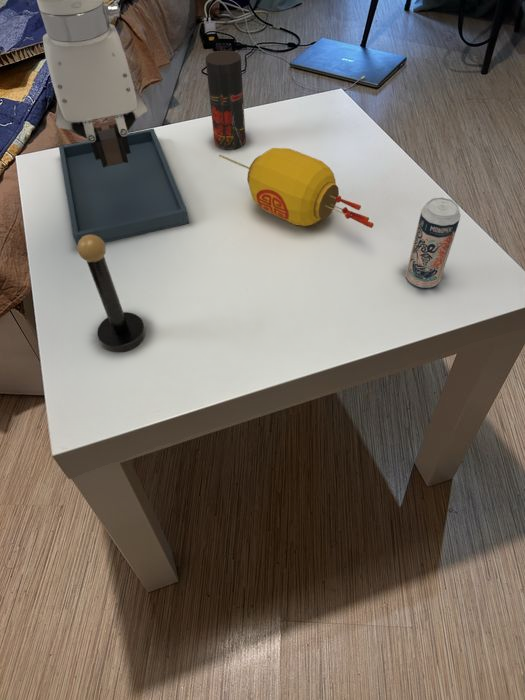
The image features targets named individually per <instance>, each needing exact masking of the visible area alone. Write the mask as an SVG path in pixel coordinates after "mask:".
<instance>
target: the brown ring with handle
mask: <svg viewBox="0 0 525 700" xmlns="http://www.w3.org/2000/svg"><path fill="white" fill-rule="evenodd" d="M137 119H139V117H137V118H136V119H135V121H134V123H133V124H132V126H133V125H134V124H135V122H136V121H137ZM92 124H93V128H94V129H95V130H96V131H97V133H98V135H99V138H100V142H101V144H102V148H103V151H104V155H105V158H106V162H107V165H108V166H112V165H117V164H122V163H124V162H123V159H122V155H121V151H120V148H119V144H118V140H117V136H116V132H115V130H116V129H115V126H116V125H117V124H116V121H115V119H113V120H110V121H105V122H100V123H96V124H95V123H92ZM69 132H71V133H73V134H75V135H77V136H79V137H82V136H81V135H79V134H78V133H76V132H74V131H73V130H69Z"/></svg>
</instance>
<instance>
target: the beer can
mask: <svg viewBox="0 0 525 700" xmlns="http://www.w3.org/2000/svg"><path fill="white" fill-rule="evenodd" d="M420 210H421V211H420V215H419V219H418V224H417V227H416V232H415V236H414V239H413V244H412V248H411V252H410V255H409V260H408V264H407V268H406V271H405V276H406V277H405V278H407V281H408V282H410V283H411V284H412V285H414V286H416V287H419V288H423V289H425V288H433V287H435V286H437V285H438V284H439V283H440V282H441V280H442V277H443V274H444V270H445V267H446V264H447V261H448V258H449V254H450V252H451V248H452V246H453V243H454V239H455V237H456V232H457V229H458V227H459V223H460V220H461V218H462V217H461V216H462V215H461V211H460V208H459V204H457V203H456V202H455V201H454V200H452V199H450V198H445V197H442V196H441V197H433V198H431V199H430V200H429V201H427V202H426V203H425V205H423V206H422V208H421V209H420Z"/></svg>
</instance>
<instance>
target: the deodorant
mask: <svg viewBox="0 0 525 700" xmlns="http://www.w3.org/2000/svg"><path fill="white" fill-rule="evenodd" d="M205 67H206V68H205V69H206V76H207V83H208V84H207V86H208V95H209V105H210V113H211V122H212V133H213V140H214V146H215V147H216V148H218V149H221V150H224V151H234V150H238V149H240V148H242V147H243V146H244V145H245V144H246V142H247V140H246V139H247V138H246V136H247V135H246V121H245V120H246V119H245V103H244V102H245V101H244V88H243V87H244V86H243V71H242V56H241V54H240V53H239V52H238V51H235V50H230V49H229V50H228V49H227V50H225V49H224V50H223V49H222V50H215V51H213V52H210V53H208V54H207V55H206V56H205Z"/></svg>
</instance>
